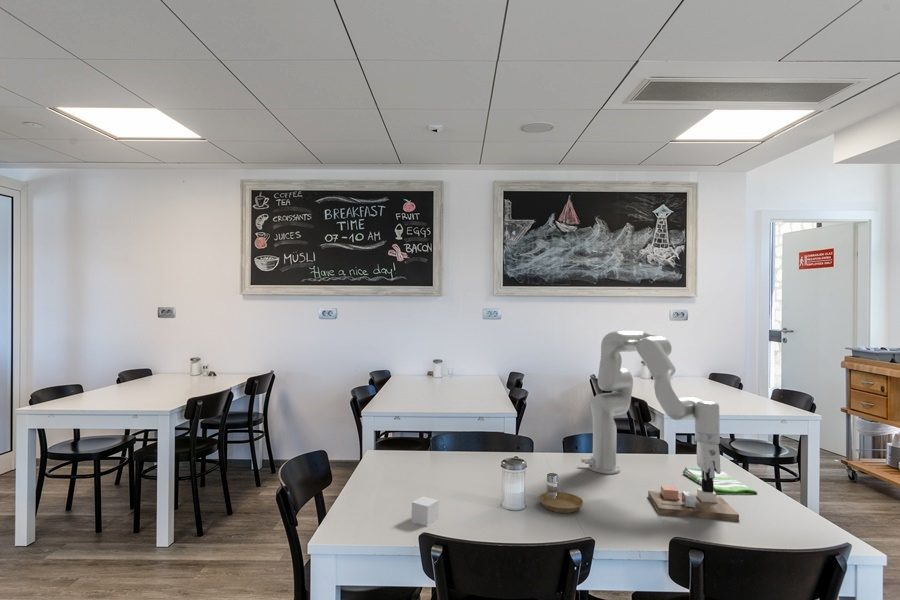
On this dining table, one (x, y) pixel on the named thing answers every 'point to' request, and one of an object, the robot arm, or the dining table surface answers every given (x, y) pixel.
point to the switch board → (700, 510)
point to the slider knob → (688, 499)
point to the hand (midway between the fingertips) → (707, 491)
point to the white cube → (425, 511)
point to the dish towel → (720, 482)
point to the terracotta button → (669, 492)
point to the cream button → (706, 496)
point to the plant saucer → (561, 502)
